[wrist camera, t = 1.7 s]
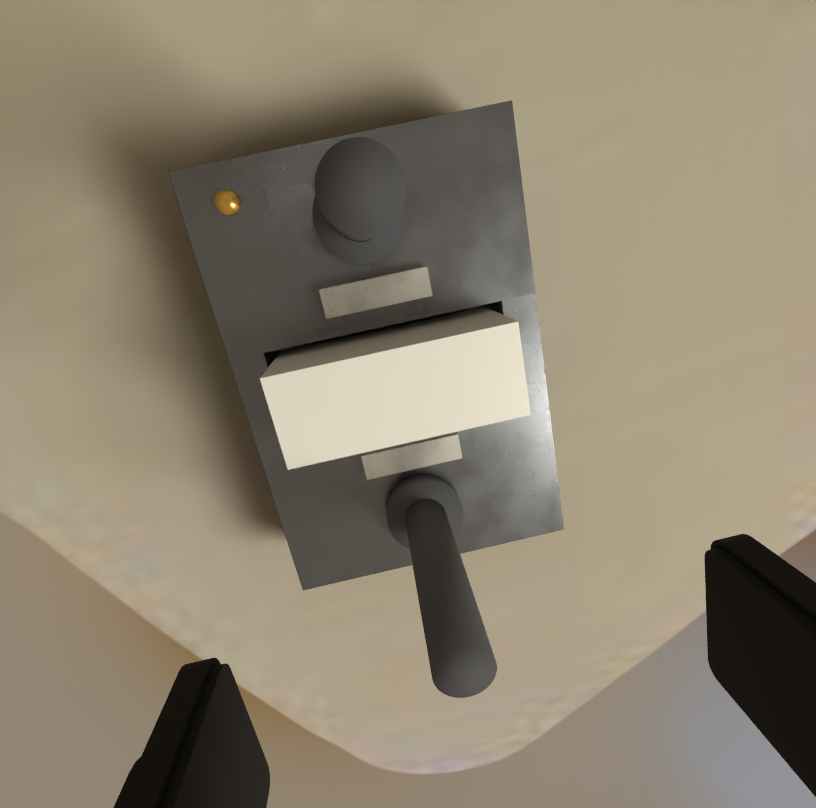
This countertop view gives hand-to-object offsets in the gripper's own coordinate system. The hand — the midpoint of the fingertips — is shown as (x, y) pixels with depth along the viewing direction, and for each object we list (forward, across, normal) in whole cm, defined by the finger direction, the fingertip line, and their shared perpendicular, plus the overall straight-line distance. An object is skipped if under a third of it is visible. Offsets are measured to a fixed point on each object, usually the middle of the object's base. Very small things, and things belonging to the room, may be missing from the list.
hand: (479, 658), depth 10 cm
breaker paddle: (+24, 0, -1) cm, 24 cm away
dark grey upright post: (+21, 0, -10) cm, 23 cm away
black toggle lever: (+21, 0, +8) cm, 23 cm away
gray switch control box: (+27, 0, -1) cm, 27 cm away
